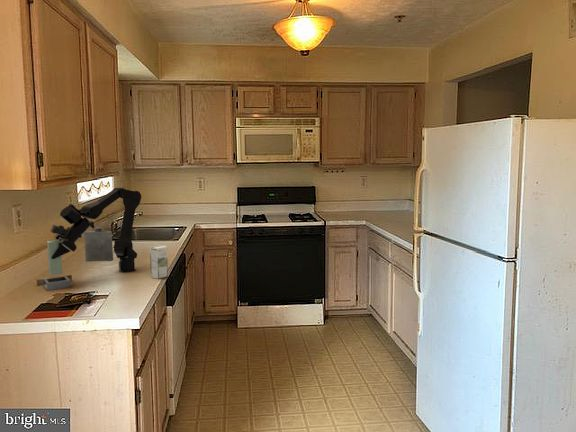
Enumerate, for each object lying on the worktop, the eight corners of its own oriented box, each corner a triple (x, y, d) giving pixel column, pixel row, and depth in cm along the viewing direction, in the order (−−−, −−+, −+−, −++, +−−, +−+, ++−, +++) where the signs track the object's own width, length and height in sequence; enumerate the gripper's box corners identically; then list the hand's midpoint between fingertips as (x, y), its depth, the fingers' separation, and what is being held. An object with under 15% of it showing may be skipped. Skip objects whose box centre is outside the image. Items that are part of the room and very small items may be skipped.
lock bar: (60, 271, 210) (58, 240, 208) (62, 273, 206) (60, 241, 204) (49, 273, 207) (46, 241, 206) (50, 275, 204) (48, 242, 202)
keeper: (66, 282, 213) (65, 275, 213) (70, 286, 206) (70, 280, 205) (43, 285, 208) (43, 278, 207) (47, 290, 201) (46, 283, 200)
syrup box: (160, 274, 226) (159, 244, 224) (168, 276, 222) (167, 246, 220) (150, 277, 221) (149, 246, 220) (158, 279, 218) (157, 248, 216)
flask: (87, 259, 259) (85, 226, 257) (114, 259, 260) (112, 226, 258) (84, 261, 256) (82, 227, 254) (112, 260, 256) (110, 227, 254)
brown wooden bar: (71, 279, 217) (70, 274, 217) (72, 280, 216) (71, 275, 216) (36, 284, 209) (36, 279, 209) (37, 285, 208) (37, 280, 208)
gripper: (58, 215, 214) (32, 242, 209) (66, 220, 198) (38, 249, 194) (78, 231, 219) (53, 258, 214) (87, 237, 204) (61, 265, 199)
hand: (51, 257), depth 205 cm, fingers closed on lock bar, 4 cm apart
